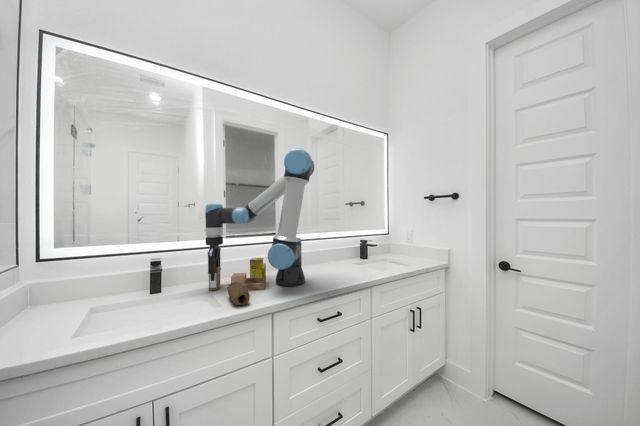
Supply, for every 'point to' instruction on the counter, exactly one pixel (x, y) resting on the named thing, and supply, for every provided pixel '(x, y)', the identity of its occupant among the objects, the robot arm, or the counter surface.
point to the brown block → (234, 278)
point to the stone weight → (238, 293)
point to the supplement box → (256, 267)
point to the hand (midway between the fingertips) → (214, 285)
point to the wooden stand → (256, 281)
